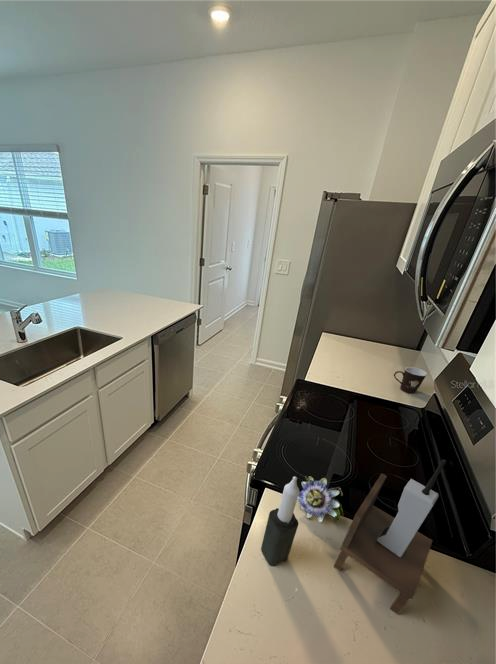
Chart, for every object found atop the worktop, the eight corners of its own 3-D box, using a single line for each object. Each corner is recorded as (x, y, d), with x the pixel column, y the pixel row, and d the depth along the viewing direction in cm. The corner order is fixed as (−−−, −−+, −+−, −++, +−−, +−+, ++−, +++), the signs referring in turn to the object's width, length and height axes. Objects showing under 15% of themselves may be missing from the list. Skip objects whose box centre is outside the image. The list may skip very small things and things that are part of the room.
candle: (270, 567, 69) (291, 490, 56) (259, 547, 73) (276, 470, 60) (289, 560, 70) (314, 483, 58) (277, 540, 74) (298, 464, 62)
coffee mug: (420, 390, 145) (428, 371, 140) (415, 397, 139) (424, 377, 134) (393, 381, 151) (400, 363, 146) (388, 387, 145) (395, 368, 140)
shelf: (358, 522, 80) (381, 473, 71) (418, 561, 72) (453, 510, 63) (332, 566, 70) (355, 514, 61) (398, 616, 61) (436, 565, 53)
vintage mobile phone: (382, 531, 69) (428, 446, 57) (406, 547, 66) (460, 461, 54) (375, 541, 67) (421, 455, 55) (400, 558, 64) (454, 471, 51)
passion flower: (304, 529, 83) (284, 498, 80) (315, 497, 91) (297, 468, 87) (345, 535, 75) (325, 501, 72) (354, 499, 83) (335, 467, 79)
